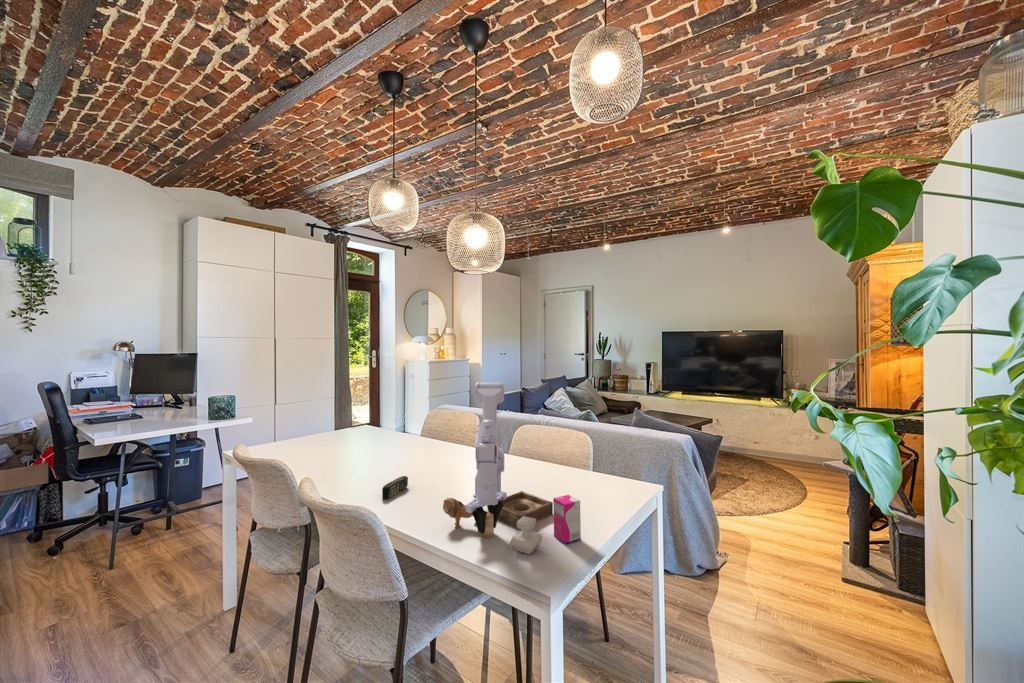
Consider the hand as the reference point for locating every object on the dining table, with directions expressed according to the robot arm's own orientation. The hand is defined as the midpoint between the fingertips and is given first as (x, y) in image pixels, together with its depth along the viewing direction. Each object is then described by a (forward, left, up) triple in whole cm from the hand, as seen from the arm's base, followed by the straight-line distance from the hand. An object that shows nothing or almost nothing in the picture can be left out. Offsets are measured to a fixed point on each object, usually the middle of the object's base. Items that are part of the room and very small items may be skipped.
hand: (486, 529), depth 121 cm
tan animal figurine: (-8, -1, -2) cm, 9 cm away
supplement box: (+18, +15, -2) cm, 23 cm away
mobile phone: (-49, -2, -2) cm, 49 cm away
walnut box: (-2, +17, -2) cm, 17 cm away
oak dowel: (0, 0, -2) cm, 2 cm away
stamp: (+14, +2, -2) cm, 14 cm away
